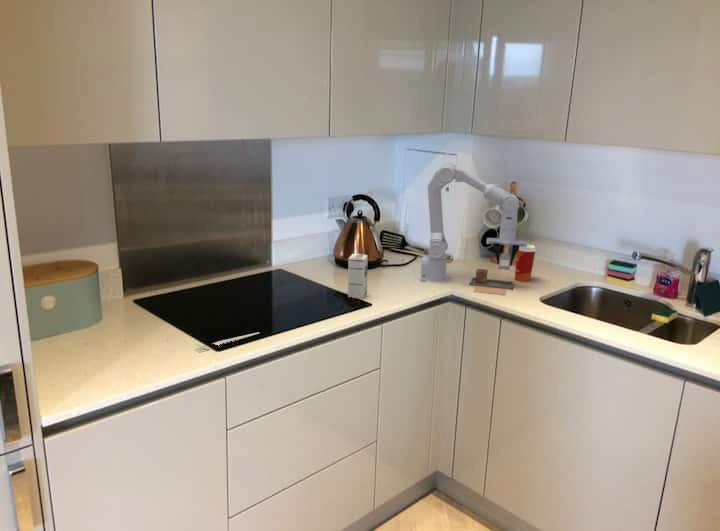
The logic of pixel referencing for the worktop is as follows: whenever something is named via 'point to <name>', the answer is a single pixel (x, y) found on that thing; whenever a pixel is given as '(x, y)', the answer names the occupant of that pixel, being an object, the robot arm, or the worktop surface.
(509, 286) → the parts tray
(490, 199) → the robot arm
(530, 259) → the paper cup
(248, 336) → the fork
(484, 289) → the rubber mat
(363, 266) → the syrup box
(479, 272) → the walnut block
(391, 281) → the worktop surface
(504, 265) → the labelled block
